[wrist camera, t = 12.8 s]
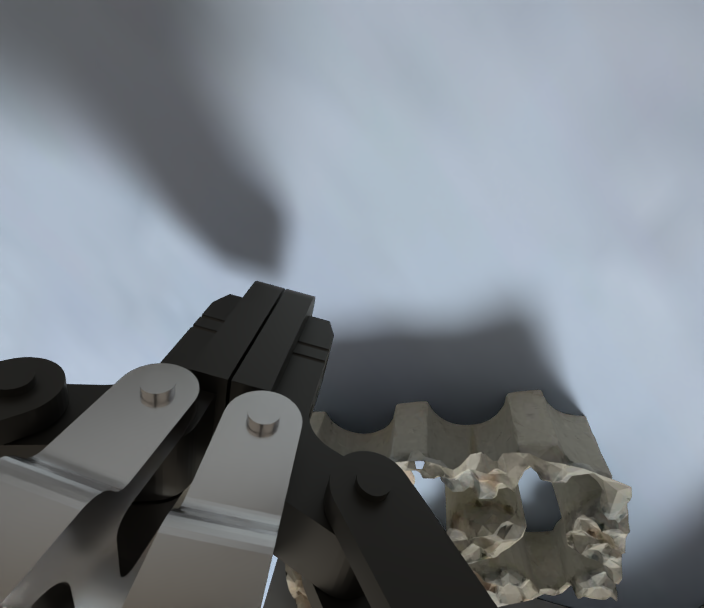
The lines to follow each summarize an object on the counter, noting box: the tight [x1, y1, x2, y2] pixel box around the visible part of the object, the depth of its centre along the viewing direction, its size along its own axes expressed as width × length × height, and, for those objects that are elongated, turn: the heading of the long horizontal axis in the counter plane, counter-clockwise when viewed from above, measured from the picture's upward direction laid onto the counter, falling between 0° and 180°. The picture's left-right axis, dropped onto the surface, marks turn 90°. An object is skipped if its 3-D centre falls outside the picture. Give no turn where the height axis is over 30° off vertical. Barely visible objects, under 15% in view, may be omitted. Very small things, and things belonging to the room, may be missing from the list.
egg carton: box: [285, 390, 632, 608], centre depth 14 cm, size 11×8×4 cm
